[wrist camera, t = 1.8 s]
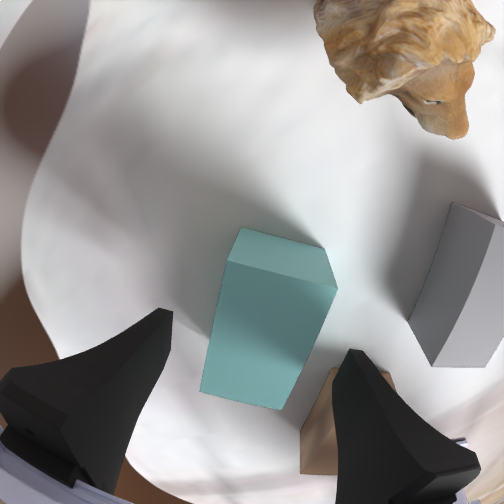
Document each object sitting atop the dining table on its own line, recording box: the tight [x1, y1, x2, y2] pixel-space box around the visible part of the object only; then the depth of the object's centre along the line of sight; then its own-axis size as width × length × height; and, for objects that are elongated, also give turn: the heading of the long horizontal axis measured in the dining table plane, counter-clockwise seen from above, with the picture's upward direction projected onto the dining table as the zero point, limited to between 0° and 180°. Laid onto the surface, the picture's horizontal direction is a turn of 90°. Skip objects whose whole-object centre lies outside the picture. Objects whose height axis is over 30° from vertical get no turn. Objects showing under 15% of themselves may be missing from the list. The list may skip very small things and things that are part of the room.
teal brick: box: [199, 227, 338, 410], centre depth 14 cm, size 7×4×4 cm, turn 167°
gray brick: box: [408, 202, 504, 368], centre depth 12 cm, size 7×4×4 cm, turn 171°
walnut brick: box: [300, 368, 397, 475], centre depth 16 cm, size 7×4×4 cm, turn 170°
